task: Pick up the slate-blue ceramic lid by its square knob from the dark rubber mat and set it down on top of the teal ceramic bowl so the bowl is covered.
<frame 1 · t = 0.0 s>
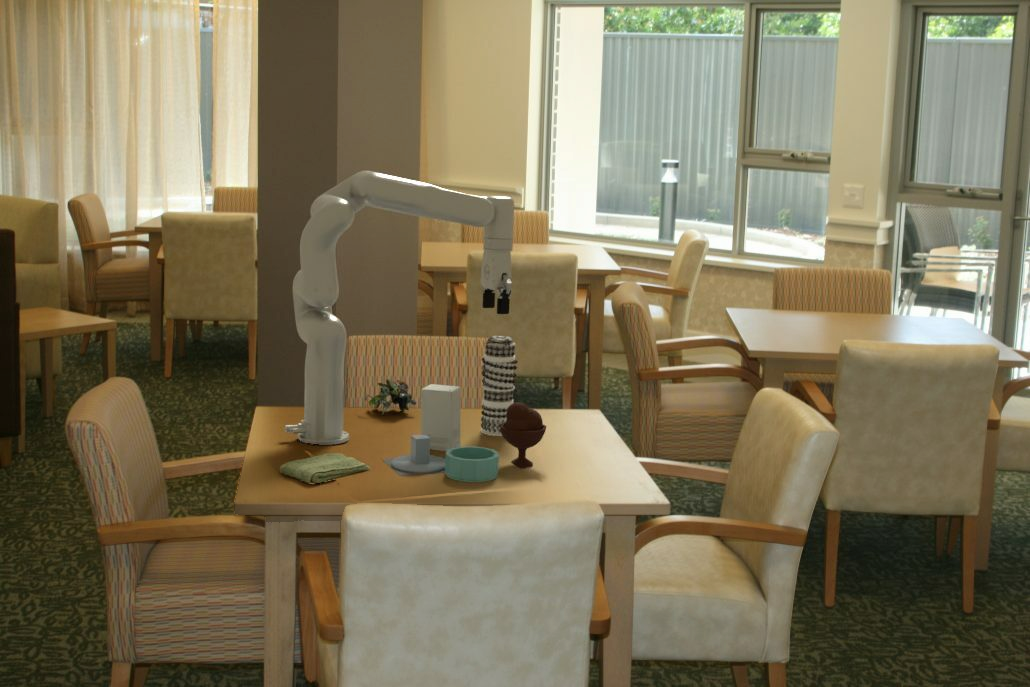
hand: (495, 310, 326), 31 cm above the table, tool pointing down, fingers open, 9 cm apart
passion flower: (390, 414, 344), on the table
bowl: (471, 476, 287), on the table
washcloth: (324, 475, 286), on the table
lid: (419, 465, 293), point 1 cm above the table, touching mat
ice cream bowl: (521, 465, 299), on the table
skincare box: (440, 450, 309), on the table
mat: (419, 467, 293), on the table
decorative candle: (496, 432, 328), on the table
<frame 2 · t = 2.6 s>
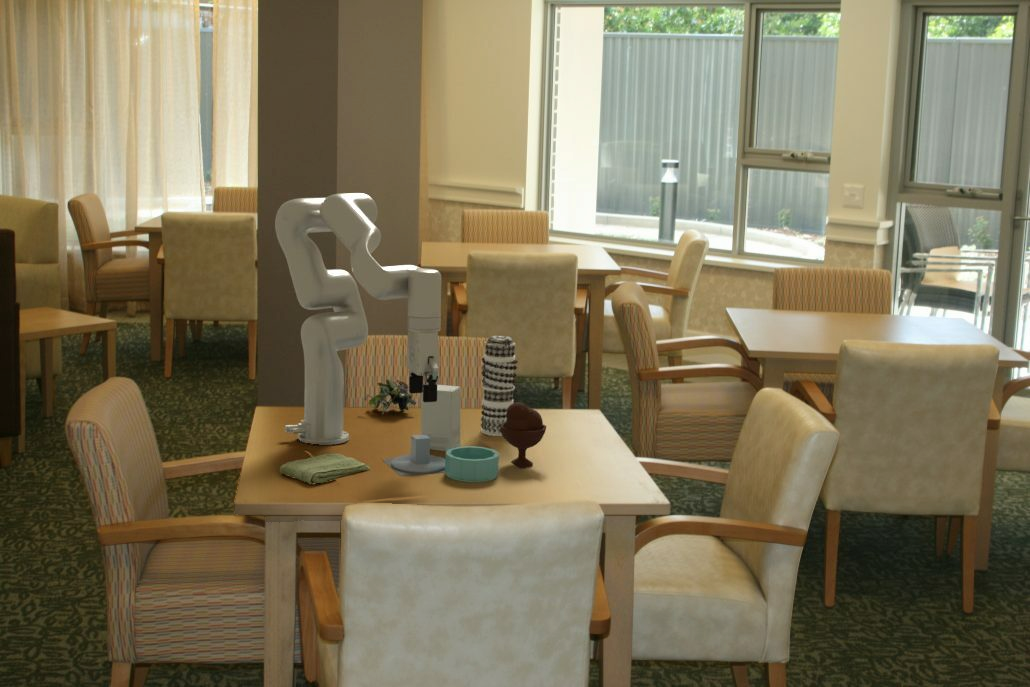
hand: (422, 397, 290), 17 cm above the table, tool pointing down, fingers open, 9 cm apart
nothing on the table moved.
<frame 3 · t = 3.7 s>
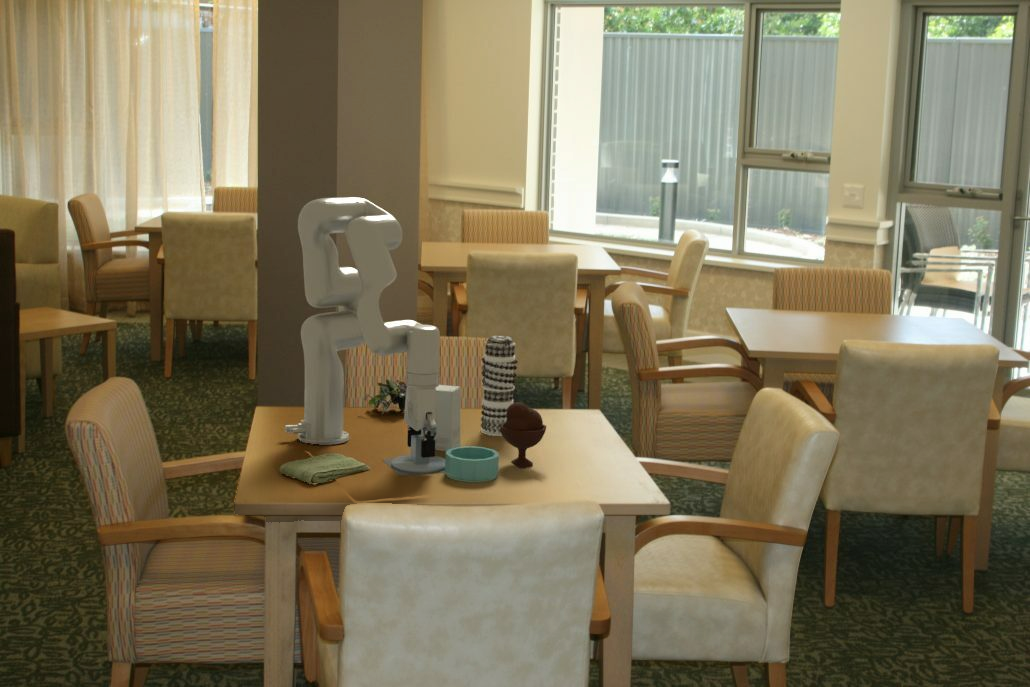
hand: (421, 451, 292), 4 cm above the table, tool pointing down, fingers open, 9 cm apart
nothing on the table moved.
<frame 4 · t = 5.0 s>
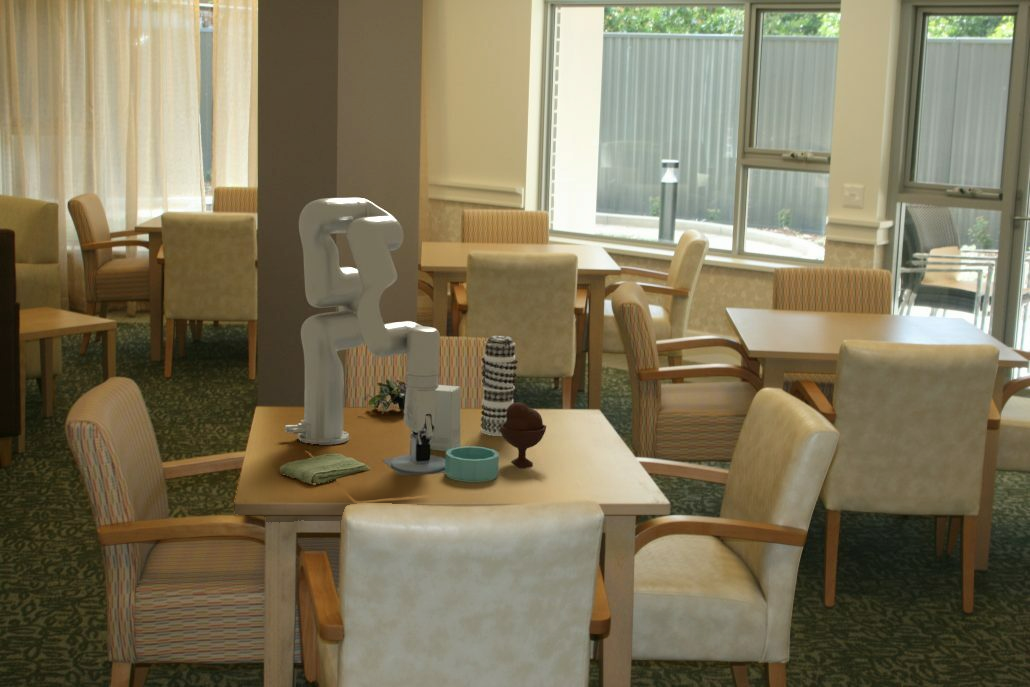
hand: (420, 457, 292), 2 cm above the table, tool pointing down, fingers closed on lid, 3 cm apart
lid: (419, 465, 293), point 1 cm above the table, touching gripper, mat
everything else where it was.
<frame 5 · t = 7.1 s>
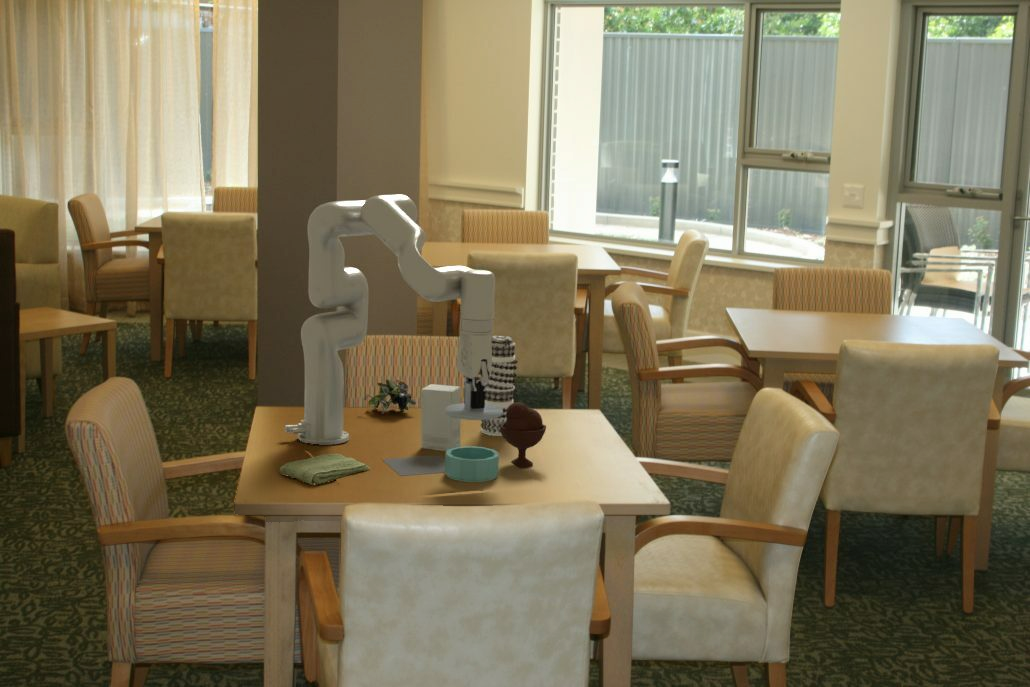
hand: (474, 405, 284), 17 cm above the table, tool pointing down, fingers closed on lid, 3 cm apart
lid: (473, 413, 285), point 15 cm above the table, touching gripper
everything else where it was.
when the fingers open (9 cm above the table, at t = 9.1 s): lid drops 1 cm, resting on bowl.
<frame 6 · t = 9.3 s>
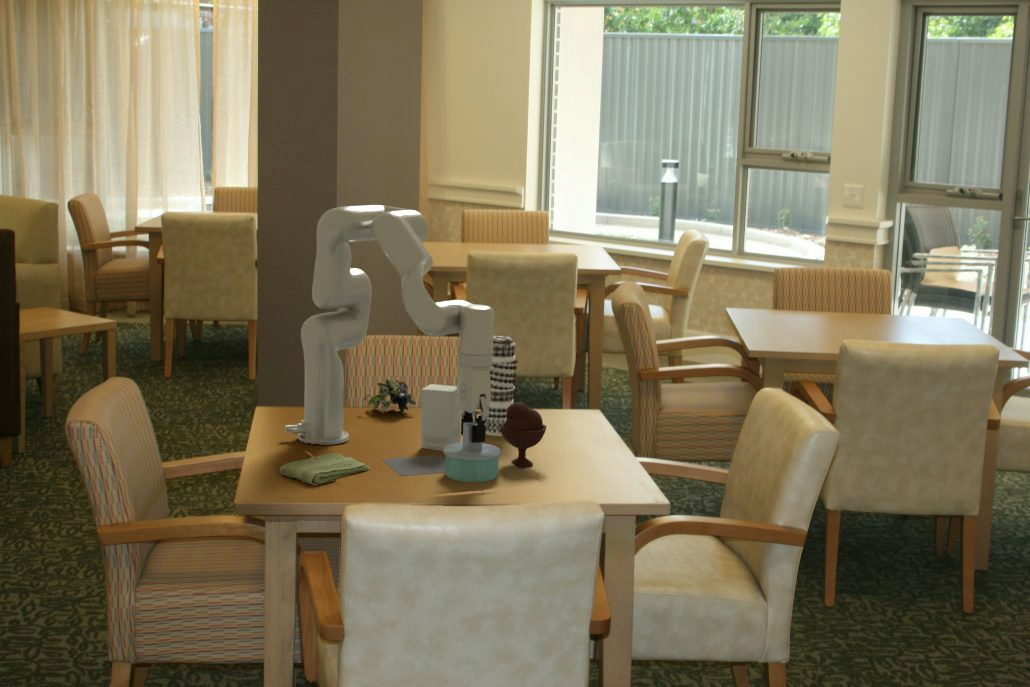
hand: (472, 437, 286), 9 cm above the table, tool pointing down, fingers open, 5 cm apart
lid: (472, 453, 286), point 5 cm above the table, touching bowl
everything else where it was.
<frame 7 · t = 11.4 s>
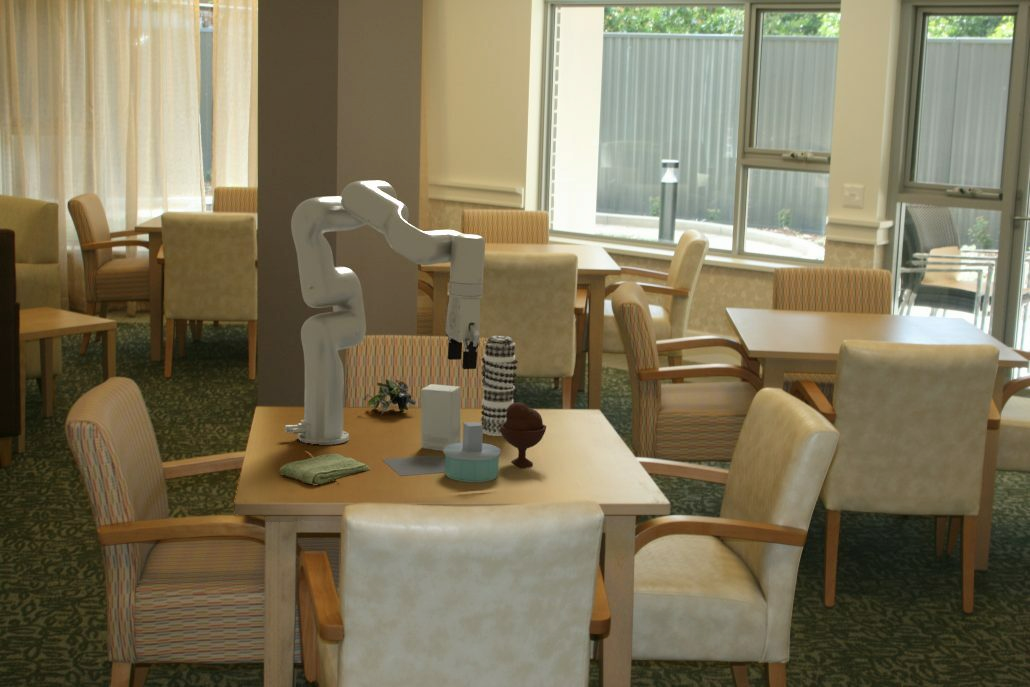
hand: (461, 363, 287), 25 cm above the table, tool pointing down, fingers open, 9 cm apart
nothing on the table moved.
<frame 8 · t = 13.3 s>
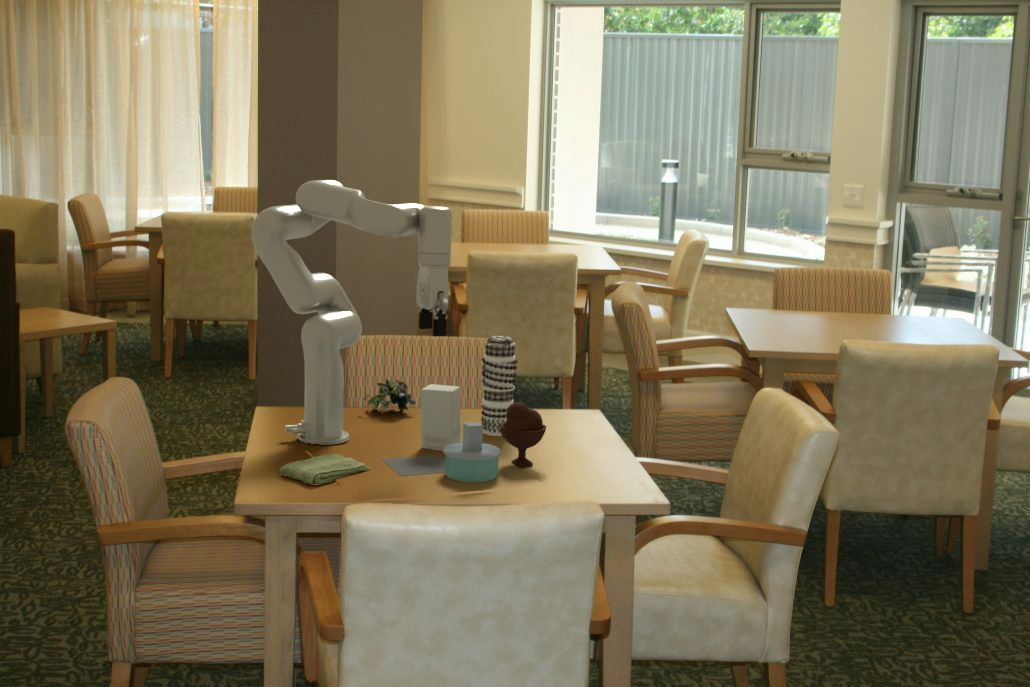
hand: (432, 332, 296), 30 cm above the table, tool pointing down, fingers open, 9 cm apart
nothing on the table moved.
at the end: lid 0.1 cm off-centre on the bowl, point 5.5 cm above the bowl's base; lid tilted 0°; the gripper is holding nothing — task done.
